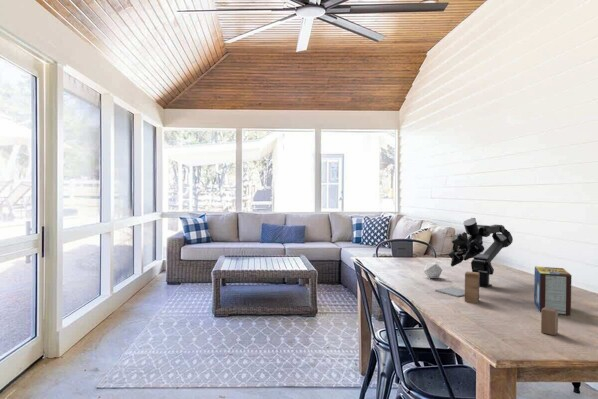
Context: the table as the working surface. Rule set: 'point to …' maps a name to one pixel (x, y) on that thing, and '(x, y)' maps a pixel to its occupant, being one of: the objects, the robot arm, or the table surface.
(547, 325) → the wooden block
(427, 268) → the die
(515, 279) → the table surface
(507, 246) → the robot arm
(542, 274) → the protein box
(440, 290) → the coaster
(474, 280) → the walnut block
